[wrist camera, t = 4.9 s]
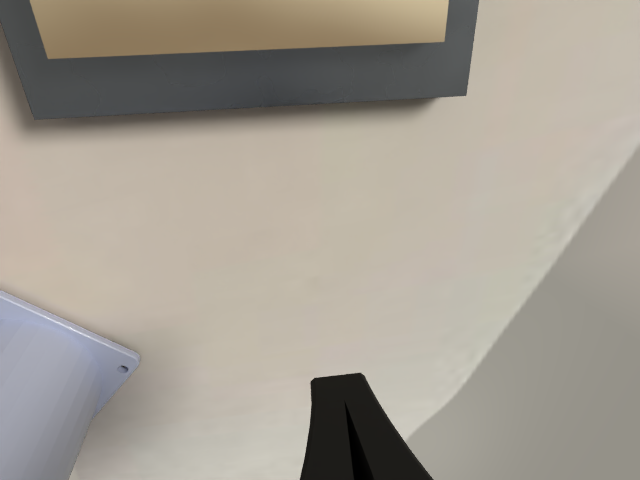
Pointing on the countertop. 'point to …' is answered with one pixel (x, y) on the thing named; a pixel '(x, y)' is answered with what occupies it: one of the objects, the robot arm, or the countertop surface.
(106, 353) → the robot arm
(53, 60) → the base
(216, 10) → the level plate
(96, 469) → the countertop surface
